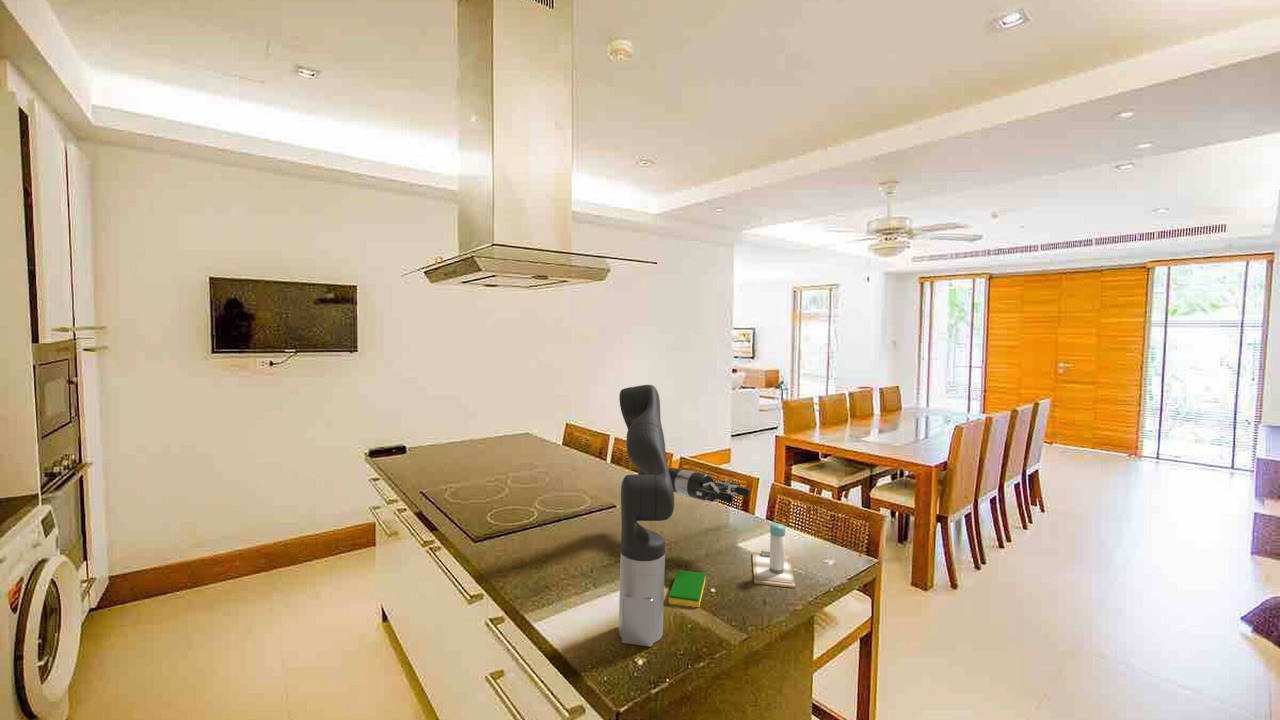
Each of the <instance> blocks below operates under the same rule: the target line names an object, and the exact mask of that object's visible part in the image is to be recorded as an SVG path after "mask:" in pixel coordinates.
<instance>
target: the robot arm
mask: <svg viewBox="0 0 1280 720" xmlns="http://www.w3.org/2000/svg"><path fill="white" fill-rule="evenodd" d="M618 399H619V400H618V401H619V407H620V413H621V416H622V419H623V422H624V424H625V426H626V428H627V433H626V452H627V456H628V458H629V459H630V460H631V461H630V462H632V463H633V464H634V466H636V467H637V468H638V469H639V470H640V471H639V472H638V473H637V474H627V475H625V476H624V477H623V480H622V482H621V486H620V487H621V488H620V511H621V512H620V514H621V515H620V516H621V517H620V518H621V537H620V538H621V540H620V562H619V563H620V565H619V566H620V567H619V568H620V569H619V599H618V601H619V602H618V604H619V605H618V634H619V637H620V638H621V643H622V644H629V645H637V646H641V647H642V646H643V647H650V648H651V647H653V645H654V643H656V642H658V641H660V640H661V638H662V637H663V634H664V606H665V605H664V604H665V603H664V602H665V600H664V599H665V568H666V565H665V564H666V563H665V562H666V541H665V537H663V536H662V535H661V534H659V533H658V532H655V531H652V530H650V529H648V528H645V527H644V526H642V525H641V524H639V523H638V522H660V521H661V522H663V521H666V520H668V519H670V518H671V517H672V515H673V513H674V509H675V493H677V494H680V495H682V496H685V497H688V498H692V499H697V500H700V501H708V502H712V503H713V502H715V501H717V502H720V501H722V502H726V503H729V504H731V503H734V495H738V496H743V497H746V498H748V497H750V496H751V489H750V488H748V487H743V486H741V483H740V482H739V483H738V482H733V481H728V480H722V481H719V480H718V481H714V480H713V479H714V478H713V477H712V476H711V475H710V474H707V473H702V472H699V471H694V470H687V469H686V470H685V469H681V468H677V467H668V463H667V455H666V443H665V441H666V440H665V436H664V431H663V427H662V426H663V425H662V421H661V400H660V394H659V392H658V390H657V388H656V387H655V386H654V385H653V384H643V385H641V384H640V385H636V386H630V387H625V388H622V389H621V390H620V392H619V398H618Z"/></svg>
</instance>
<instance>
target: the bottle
mask: <svg viewBox="0 0 1280 720" xmlns="http://www.w3.org/2000/svg"><path fill="white" fill-rule="evenodd" d="M769 526H770V529H769V533H770V539H769V541H770V542H769V550H770V551H769V552H770V572H772V573H775V574H782V573H783V572H784V556H785V541H786V540H785V538H786V537H785V536H786V526H785V525H784V524H782V523H777V522H776V523H771V524H770V525H769Z"/></svg>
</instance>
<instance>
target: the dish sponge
mask: <svg viewBox="0 0 1280 720" xmlns="http://www.w3.org/2000/svg"><path fill="white" fill-rule="evenodd" d="M706 576H707V574H706V573H705V572H697V571H689V570H680V569H679V570H677V572H676V575H675V577H674V581H673V582H672V586H671V589H670V592H669V594H668V603H669V604H670V605H675V604H676V606H682V605H686V606H685V607H688V606H693V607H692V608H695V607H699V608H700V606H701V603H700V602H701V601H702V598H703V593H704V589H705V585H706V580H707V579H706ZM677 604H679V605H677Z"/></svg>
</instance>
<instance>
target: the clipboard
mask: <svg viewBox="0 0 1280 720" xmlns="http://www.w3.org/2000/svg"><path fill="white" fill-rule="evenodd" d="M752 569H753V582H754V583H753V584H755V585H756V584H757V585H763V586H764V585H765V586H772V587H781V588H791V589H796V583H795V579H794V574H793V570H792V565H791V561H790V556H789V555H784V572H783V573H782V574H775V573H772V572H770V551H765V550H763V551H762V550H761V551H760V552H753V551H752Z"/></svg>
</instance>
